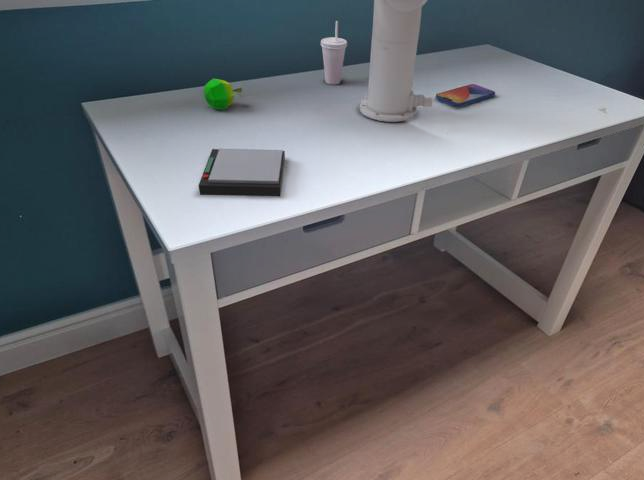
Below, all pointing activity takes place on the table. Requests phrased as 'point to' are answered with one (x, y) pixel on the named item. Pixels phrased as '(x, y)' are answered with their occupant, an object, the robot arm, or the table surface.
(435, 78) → the table surface
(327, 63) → the smoothie
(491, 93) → the smartphone
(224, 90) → the apple
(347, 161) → the table surface
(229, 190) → the scale
